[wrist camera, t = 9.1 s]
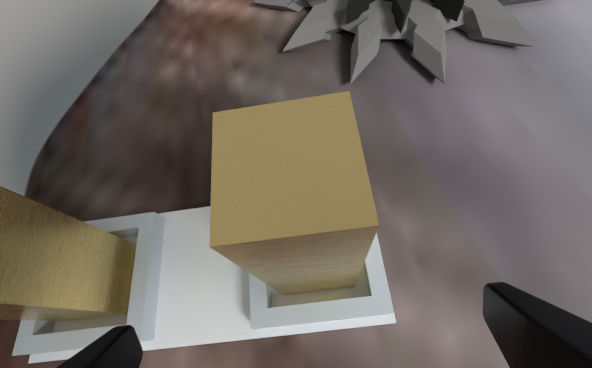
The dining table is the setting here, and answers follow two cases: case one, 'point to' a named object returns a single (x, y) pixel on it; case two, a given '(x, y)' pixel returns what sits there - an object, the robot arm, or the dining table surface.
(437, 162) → the dining table surface
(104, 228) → the white shallow tray
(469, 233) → the dining table surface
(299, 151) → the billet
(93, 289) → the seated billet
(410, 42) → the decorative piece
